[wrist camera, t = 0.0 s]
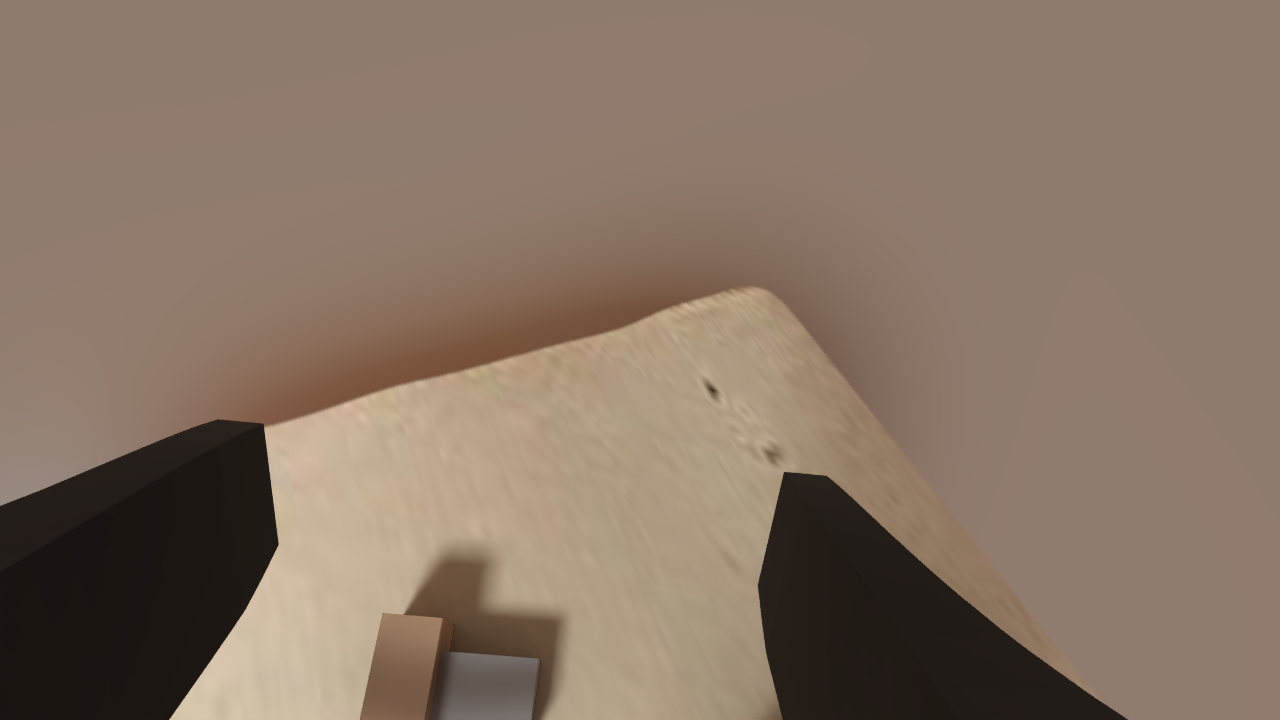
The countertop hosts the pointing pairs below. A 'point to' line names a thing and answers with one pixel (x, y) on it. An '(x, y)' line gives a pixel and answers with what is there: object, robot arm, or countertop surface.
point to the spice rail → (443, 676)
